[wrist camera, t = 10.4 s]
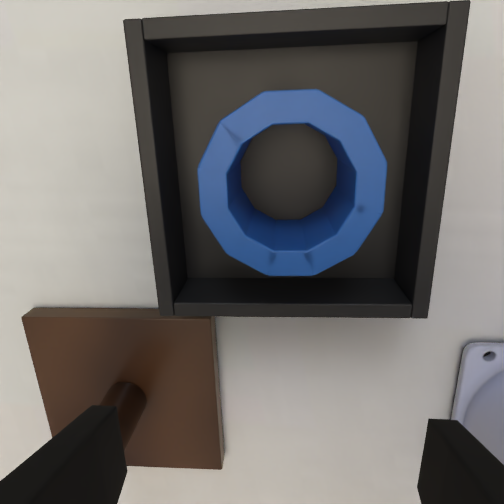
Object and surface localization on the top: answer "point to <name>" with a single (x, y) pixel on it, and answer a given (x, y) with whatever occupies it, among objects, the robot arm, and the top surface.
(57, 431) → the tape holder
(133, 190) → the top surface
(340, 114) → the tape roll
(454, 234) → the top surface
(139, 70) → the tray
